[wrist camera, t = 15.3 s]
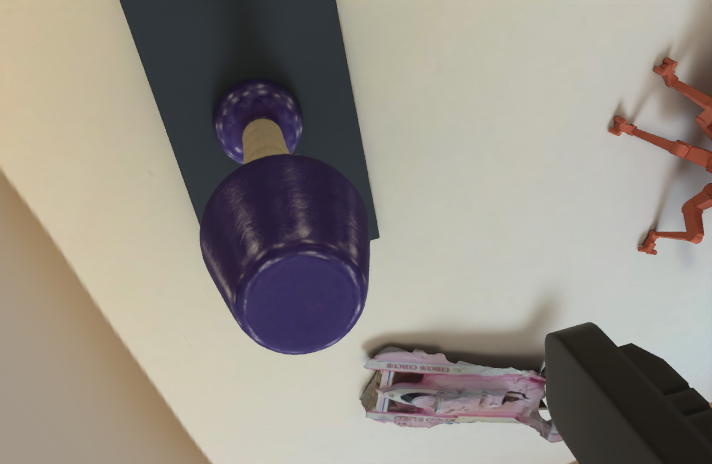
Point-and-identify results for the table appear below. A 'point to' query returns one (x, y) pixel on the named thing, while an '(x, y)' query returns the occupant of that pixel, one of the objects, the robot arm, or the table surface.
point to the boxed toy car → (452, 392)
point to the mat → (242, 62)
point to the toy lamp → (283, 228)
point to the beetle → (708, 121)
